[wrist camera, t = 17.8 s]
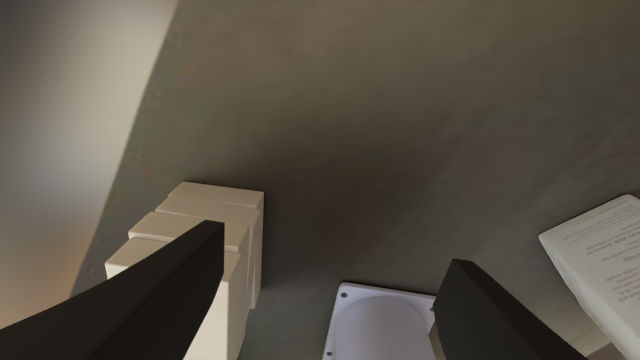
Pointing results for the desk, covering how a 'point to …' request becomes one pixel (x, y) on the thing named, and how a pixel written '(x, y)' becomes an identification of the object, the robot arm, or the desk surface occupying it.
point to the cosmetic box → (603, 267)
